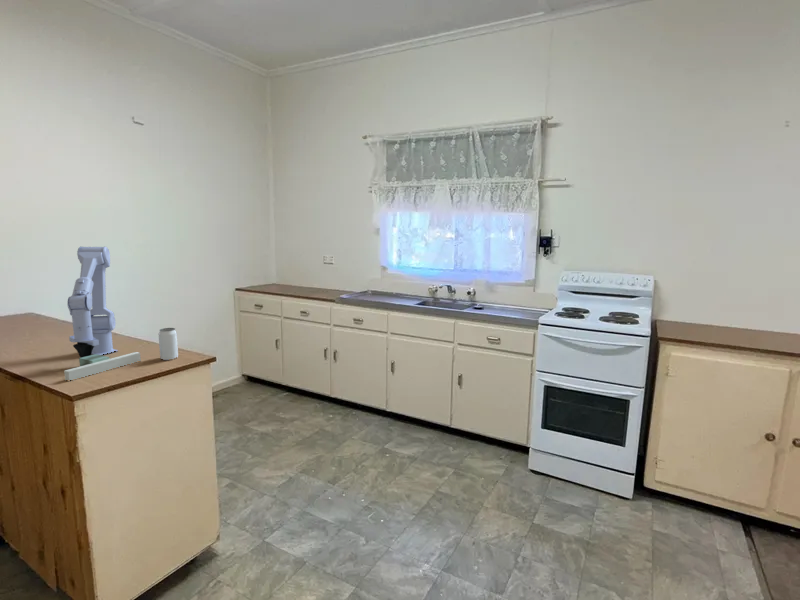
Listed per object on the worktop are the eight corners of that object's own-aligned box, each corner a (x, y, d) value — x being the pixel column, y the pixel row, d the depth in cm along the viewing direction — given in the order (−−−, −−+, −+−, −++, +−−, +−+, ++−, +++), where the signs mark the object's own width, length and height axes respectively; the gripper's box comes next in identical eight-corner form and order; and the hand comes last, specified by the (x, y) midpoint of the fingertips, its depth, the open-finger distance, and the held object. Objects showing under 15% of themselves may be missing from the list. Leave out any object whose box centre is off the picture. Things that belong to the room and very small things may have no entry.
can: (161, 356, 182) (159, 328, 180) (179, 355, 185) (177, 327, 183) (159, 361, 176) (157, 331, 174) (177, 359, 179) (175, 330, 177)
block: (80, 369, 165) (79, 358, 164) (96, 365, 170) (95, 354, 170) (93, 373, 162) (92, 361, 161) (110, 368, 167) (109, 356, 167)
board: (65, 380, 153) (64, 370, 153) (136, 360, 177) (136, 352, 176) (69, 381, 152) (68, 371, 152) (140, 361, 176) (140, 352, 175)
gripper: (59, 326, 166) (62, 361, 168) (83, 331, 160) (86, 367, 162) (79, 323, 172) (82, 357, 175) (103, 327, 166) (106, 362, 169)
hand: (86, 361), depth 169 cm, fingers closed
